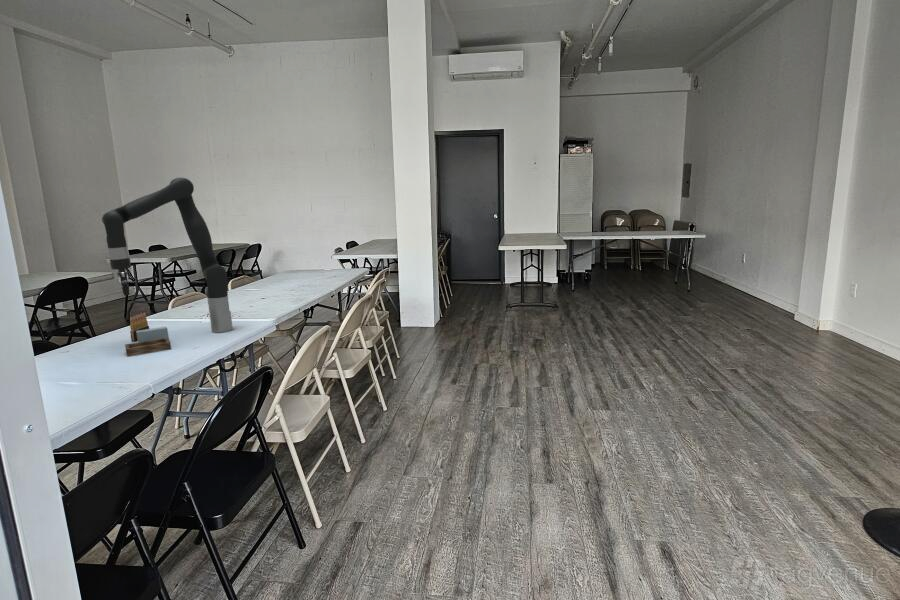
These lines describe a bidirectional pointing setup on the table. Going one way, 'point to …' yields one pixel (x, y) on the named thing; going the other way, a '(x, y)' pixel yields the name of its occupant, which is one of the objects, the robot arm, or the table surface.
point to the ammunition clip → (138, 325)
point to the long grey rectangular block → (152, 334)
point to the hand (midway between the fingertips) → (126, 293)
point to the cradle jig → (147, 347)
